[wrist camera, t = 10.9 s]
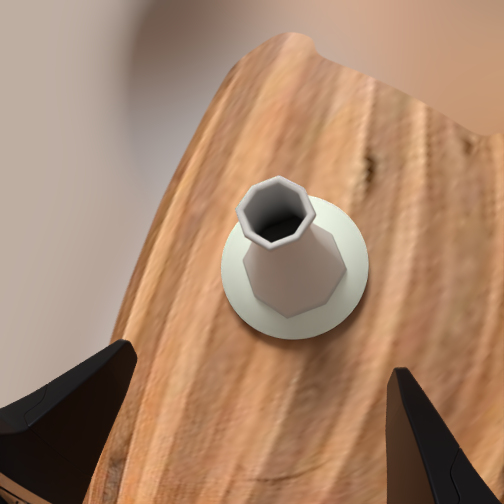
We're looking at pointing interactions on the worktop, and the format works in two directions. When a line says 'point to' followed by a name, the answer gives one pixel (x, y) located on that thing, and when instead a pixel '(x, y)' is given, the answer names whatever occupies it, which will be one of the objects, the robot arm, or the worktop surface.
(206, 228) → the worktop surface
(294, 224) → the flask
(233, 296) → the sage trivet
